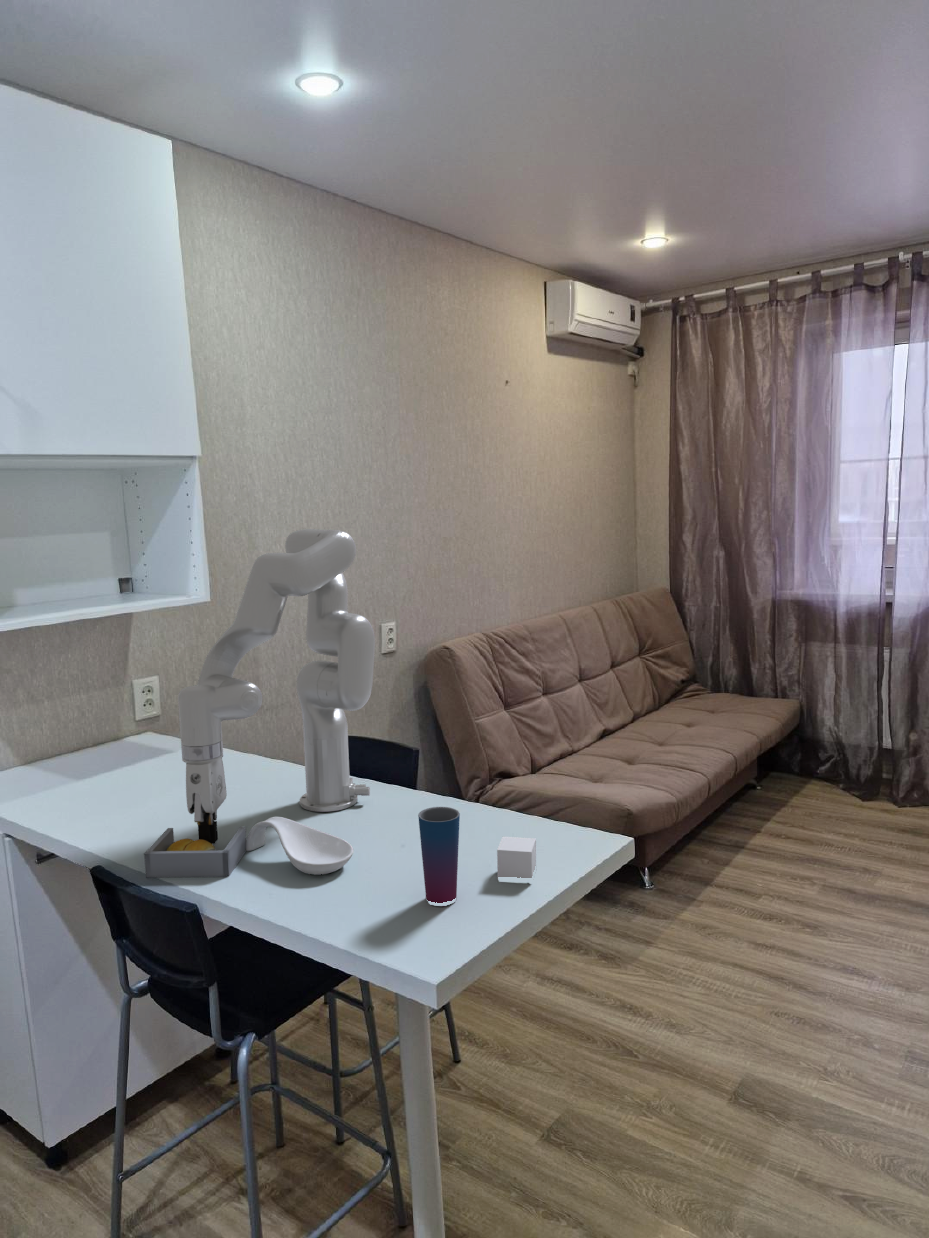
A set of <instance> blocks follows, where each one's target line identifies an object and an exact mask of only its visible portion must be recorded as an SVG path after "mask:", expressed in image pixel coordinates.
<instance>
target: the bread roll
mask: <svg viewBox="0 0 929 1238" xmlns="http://www.w3.org/2000/svg"><path fill="white" fill-rule="evenodd" d="M166 851H217V850H216V846H214V844H211V843H210V842H208V841H206V840H202V839H200V840H199V839H196V840H193V839H191V838H182V839H178V840H175V841H174V843H173V844H171V845H170V846H169V847H168V848H167V850H166Z"/></svg>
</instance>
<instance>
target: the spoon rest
mask: <svg viewBox="0 0 929 1238" xmlns="http://www.w3.org/2000/svg"><path fill="white" fill-rule="evenodd" d="M267 827H271V828H273V829H274V830H275V831H276V833H277V835H278V837H279V840H280V843H281V845H282V849H283V850H284V852H285V855H286V856H287V858H288V860H289V862H290V863H291V864H292V865H293V866H294V868H296V869H297V870H299V871H300V872H302V873H305V874H307V873H308V874H307V875H310V874H314V875H313V876H320V875H321V874H322V875H327V874H330V873H333V872H336V871H338V870H339V869H342V868H343V867H344V866H346V864H347V863H348V862H349V861H350V860H351V858H352V857H353V854H354V851H355V850H354V848H353V846H352V844H351V843H349V842H348V841H347V840H345V839H343V838H342V837H338V836H336V835H333V834H330V833H327V832H324V831H322V830H319V829H317V828H314V827H311V826H308V825H306V824H303V823H300V822H298V821H295V820H293V819H289V818H287V817H282V816H272V817H269V818H267V819H265V820H264V821H259V822H257V823H256V824H254V825H253V826H252V827H251V828H250V830H249V832H248V834H247V835H246V847H245V849H246V851H245V852H251V851H254V850H257V849H259V848H260V847H262V846H264V845H266V832H267V831H266V830H267Z"/></svg>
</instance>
